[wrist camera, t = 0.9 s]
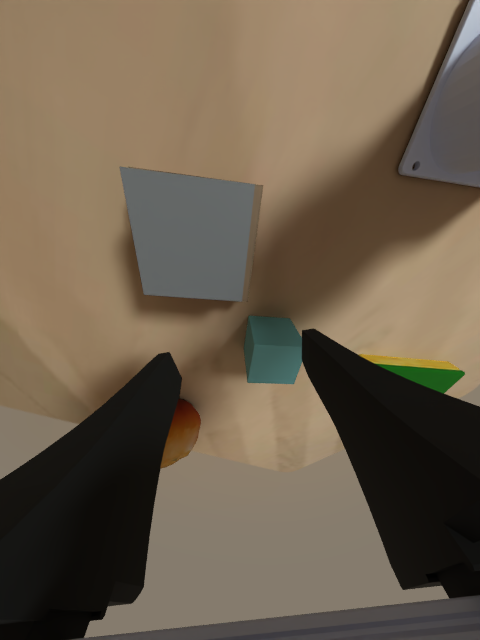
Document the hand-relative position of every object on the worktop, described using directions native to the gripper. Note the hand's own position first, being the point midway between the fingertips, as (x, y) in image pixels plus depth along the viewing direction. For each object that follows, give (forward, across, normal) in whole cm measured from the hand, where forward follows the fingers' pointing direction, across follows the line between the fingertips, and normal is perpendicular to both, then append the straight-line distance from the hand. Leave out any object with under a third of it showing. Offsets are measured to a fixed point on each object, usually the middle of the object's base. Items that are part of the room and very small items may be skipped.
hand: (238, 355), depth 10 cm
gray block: (+6, +2, -6) cm, 8 cm away
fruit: (+9, +12, +16) cm, 22 cm away
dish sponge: (+10, -19, +16) cm, 27 cm away
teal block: (+9, -3, +5) cm, 11 cm away
